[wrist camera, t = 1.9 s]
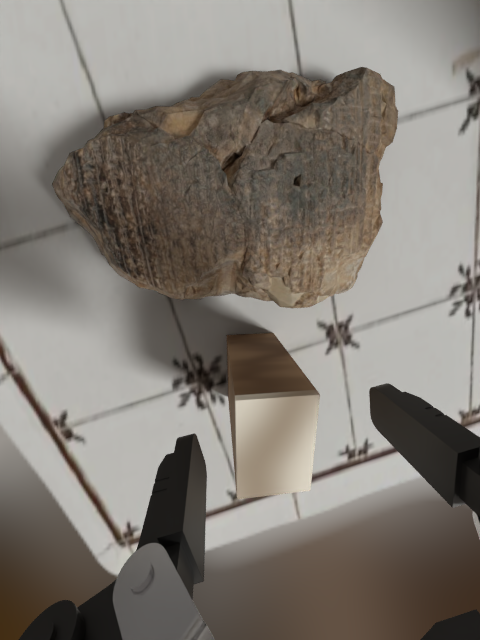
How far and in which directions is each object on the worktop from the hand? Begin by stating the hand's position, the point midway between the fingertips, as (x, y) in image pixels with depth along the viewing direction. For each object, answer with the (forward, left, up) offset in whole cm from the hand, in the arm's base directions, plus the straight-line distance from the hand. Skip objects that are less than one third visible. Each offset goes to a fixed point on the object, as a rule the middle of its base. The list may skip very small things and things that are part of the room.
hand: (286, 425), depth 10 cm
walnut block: (+1, +2, -10) cm, 10 cm away
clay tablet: (0, -11, -10) cm, 15 cm away
